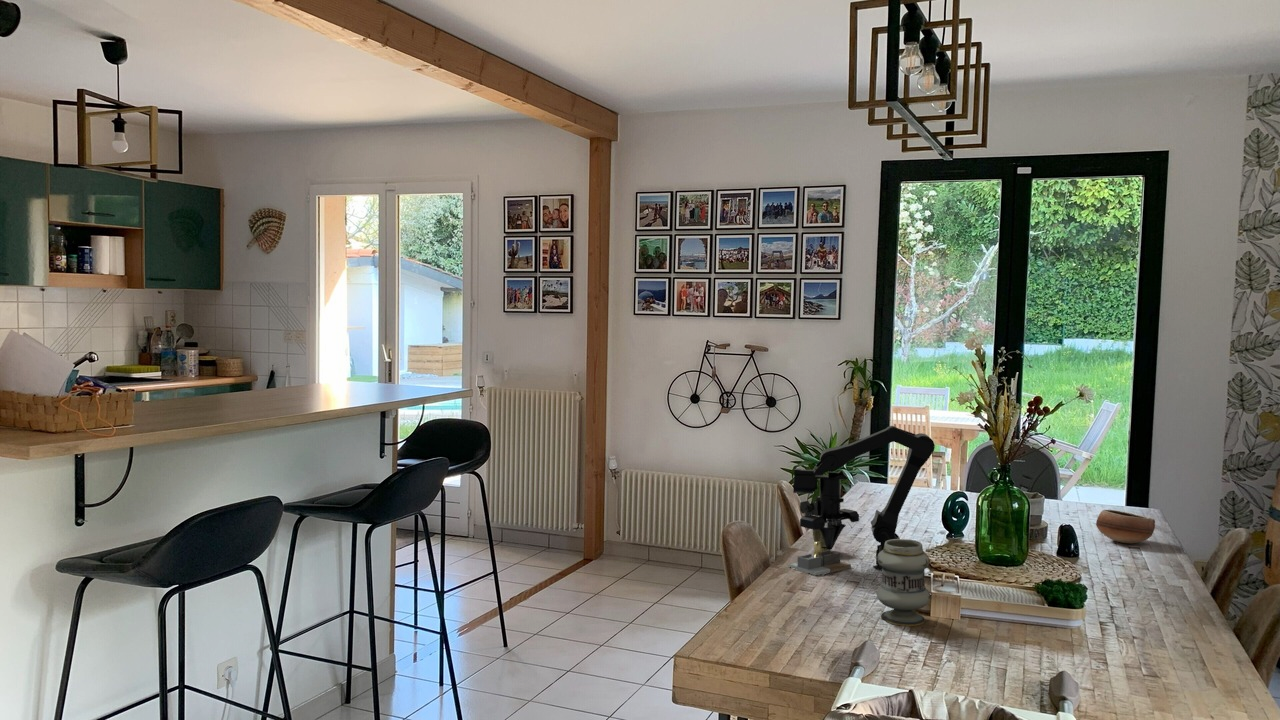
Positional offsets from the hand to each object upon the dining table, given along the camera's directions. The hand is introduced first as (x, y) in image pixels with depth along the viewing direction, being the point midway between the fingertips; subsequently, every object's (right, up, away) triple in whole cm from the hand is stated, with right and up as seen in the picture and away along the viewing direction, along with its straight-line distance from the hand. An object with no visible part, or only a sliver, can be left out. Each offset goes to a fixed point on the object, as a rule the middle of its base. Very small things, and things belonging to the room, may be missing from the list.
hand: (829, 549), depth 266 cm
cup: (+2, -4, +17) cm, 17 cm away
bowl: (+98, -4, +30) cm, 103 cm away
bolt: (-5, -4, -4) cm, 8 cm away
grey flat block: (-1, -5, 0) cm, 5 cm away
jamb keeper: (-6, -5, -4) cm, 9 cm away
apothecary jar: (+8, -7, -46) cm, 47 cm away
